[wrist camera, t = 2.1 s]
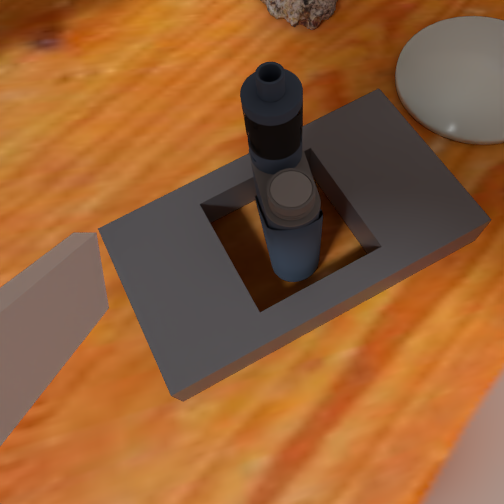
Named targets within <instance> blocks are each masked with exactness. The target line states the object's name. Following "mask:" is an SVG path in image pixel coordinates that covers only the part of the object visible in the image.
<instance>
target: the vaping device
mask: <svg viewBox="0 0 504 504" xmlns="http://www.w3.org/2000/svg"><path fill="white" fill-rule="evenodd" d="M240 97H241V103H242V109H243V111H244V112H243V114H244V113H245V114H244V120H245V126H246V132H247V131H248V132H247V133H249V135H248V134H247V136H248V144H249V156H250V160H251V164H252V170H253V176H254V182H255V188H256V194H257V196H255V199H256V203H257V207H258V211H259V215H260V219H261V223H262V227H263V232H264V236H265V240H266V244H267V248H268V252H269V256H270V260H271V264H272V268H273V270H274V272H275V274H276V275H277V276H278V277H279V278H281V279H283V280H285V281H288V282H298V281H302V280H304V279H307V278H308V277H310V276H311V275H312V274H313V273H314V272H315V270H316V269H317V267H318V263H319V255H320V244H321V233H322V222H323V213H322V210H321V209H320V206H321V200H320V196H319V193H318V190H317V188H316V185H315V182H314V179H313V176H312V173H311V170H310V167H309V164H308V161H307V159H306V156H305V153H304V150H303V147H302V131H303V88H302V84H301V82H300V80H299V79H298V77H297V76H296V75H294V74H293V73H292V72H290V71H288V70H286V69H284V68H283V67H282V66H281V65H280V64H278V63H276V62H266V63H263V64H261V65H260V66H259V67H258V68H257V69H256V71H255V72H254V73H253V74H251V75H250V76H249V77H248V78H247V79H246V80H245V81H244V83H243V85H242V87H241V91H240ZM298 113H299V114H298Z"/></svg>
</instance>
